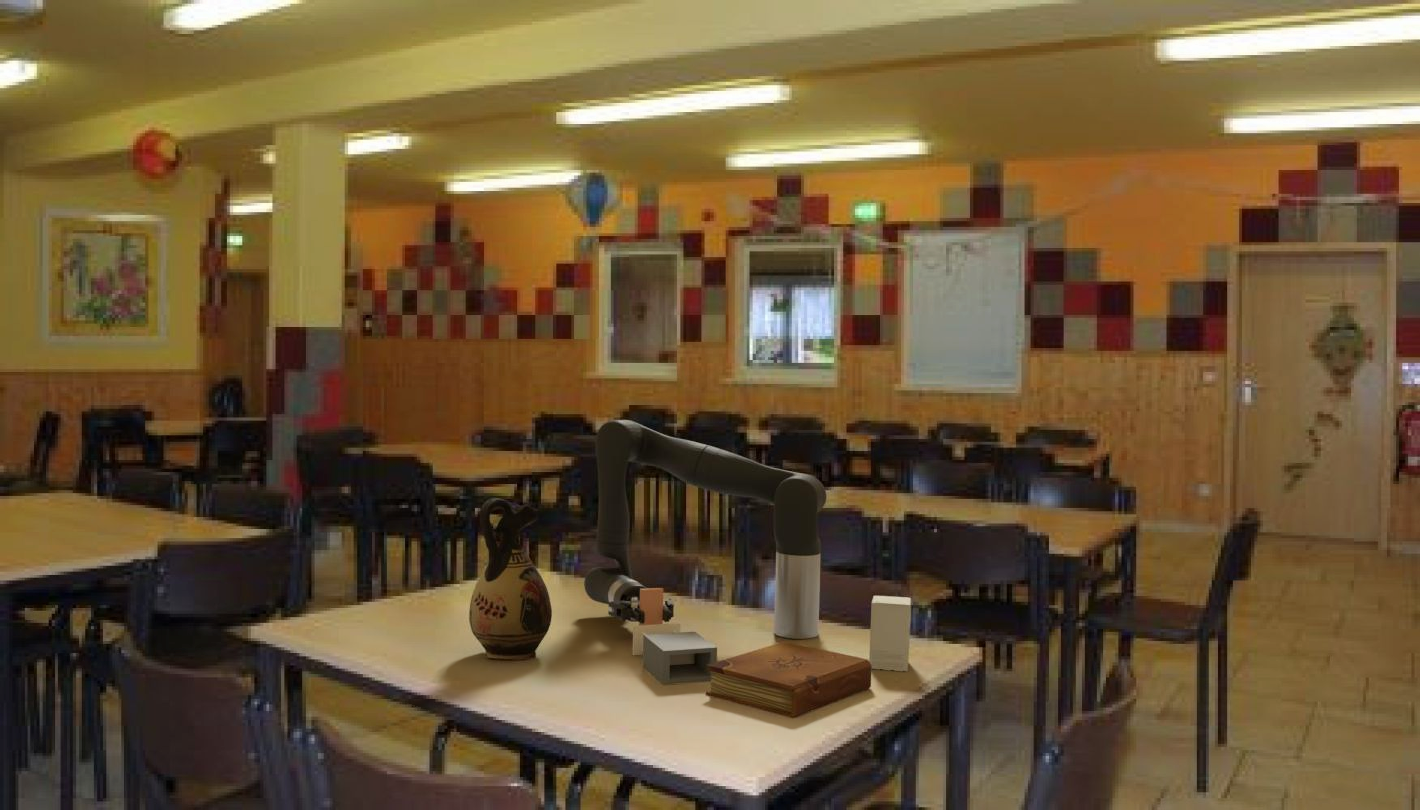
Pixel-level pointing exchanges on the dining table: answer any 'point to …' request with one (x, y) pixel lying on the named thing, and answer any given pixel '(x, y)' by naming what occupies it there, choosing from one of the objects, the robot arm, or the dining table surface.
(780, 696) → the diary
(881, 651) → the supplement box
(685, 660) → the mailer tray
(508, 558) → the ceramic jug
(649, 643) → the sleeve
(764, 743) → the dining table surface
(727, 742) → the dining table surface
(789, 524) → the robot arm
